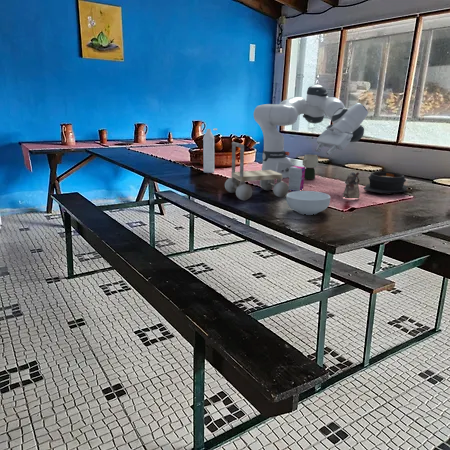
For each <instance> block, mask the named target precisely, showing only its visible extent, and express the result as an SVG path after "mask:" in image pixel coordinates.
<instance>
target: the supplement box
mask: <svg viewBox="0 0 450 450" xmlns="http://www.w3.org/2000/svg"><path fill="white" fill-rule="evenodd" d="M305 169H306V167H304V166H297V165H295V166H293V167H290V175H289V177H288V186H289V190H291V191H290V192H294V191H300V190H302V189H303V190H304V186H305V185H304V183H305V178H304V176H305ZM303 190H302V191H303Z"/></svg>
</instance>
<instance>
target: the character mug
mask: <svg viewBox="0 0 450 450" xmlns="http://www.w3.org/2000/svg"><path fill="white" fill-rule="evenodd" d="M318 164H319V158H318V155H317V154H304V156H303V159H302V166H303V167H305V176H304V179H306V180H315V179H316V170H315V169H317V167H318Z"/></svg>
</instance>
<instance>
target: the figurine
mask: <svg viewBox="0 0 450 450" xmlns="http://www.w3.org/2000/svg"><path fill="white" fill-rule="evenodd" d="M359 175H360V172H356V173H355V172H353V171H352V172H350V173H349V174H347V177H346V179H345V181H344V184H345V187H344V191H343V193H342V197H345V198H359V199H360V187H359V183H360V177H359ZM356 180H357V181H356Z"/></svg>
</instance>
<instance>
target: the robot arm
mask: <svg viewBox="0 0 450 450" xmlns="http://www.w3.org/2000/svg"><path fill="white" fill-rule="evenodd" d="M328 95H329V91H327V89H326V88H325V87H324V86H323V85H320V84H312V85H310V86H309V87H307V91H306V98H304V97H302V96H293V97H290V98H287V99H283V100H282V101H281V102H280V103H277V104H276V103H275V104H274V103H273V104H272V103H266V104H260V105H256V107H254V111H253V119H254V121H255V122H256V123H257V124H258V126H259V127H260V129H261V131H262V135H263V150H262V166H261V170H272V171H275V172H278V173H280V174H282V179H286V178H288V179H289V175H290V167H293V166H296V165H295V164H294V163H293V162H292V161H291V160H290V159H289V158H287V157H289V156H290V154H291V152H289V151H285V150H284V148H285V136H284V135H283V134H282V133H281V132H279V130H278V127H277V126H280V127H281V126H282V127H285V126H292V125H295V123H296V122H297V119H298V117H299V116H300V115H302V118H303V119H305V121H306V122H308V123H310V124H314V125H315V124H319V123H322V122H323V120H324V118H325V116H326V117H327V118H328V119H329V120H330V121H331V123H332V124H329V125H327V126H326V127H325V130H323V132H321V134H320V135H319V136H318V137H317V139H316V143H317V144H318V145H317V146H316V149H315V152H316V153H320V152H321V149H322V148H324V147H325V148H330V149H328V150H327V151H326V152H325V154H326V155H328V156H330V155H331V154H333V153H334V152H336V151H337V150H340V151H343V150H345V149H346V148H347V146H348V145H349V144H350V143H356V142H358V141H361V139H362V138H363V137H364V133H365V128H364V126H363V125H361V124H362V123H363V122H364V120H365V119H366V118H367V117H368V113H369V111H368V109H367V108H366V106H365V105H364V104H362V103H360V102H356V103H355V104H353V105H351V106H350V107H346V106H345V104H344V102H343V101H342V100H341V99H339V98H338V97H335V96H328Z"/></svg>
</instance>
